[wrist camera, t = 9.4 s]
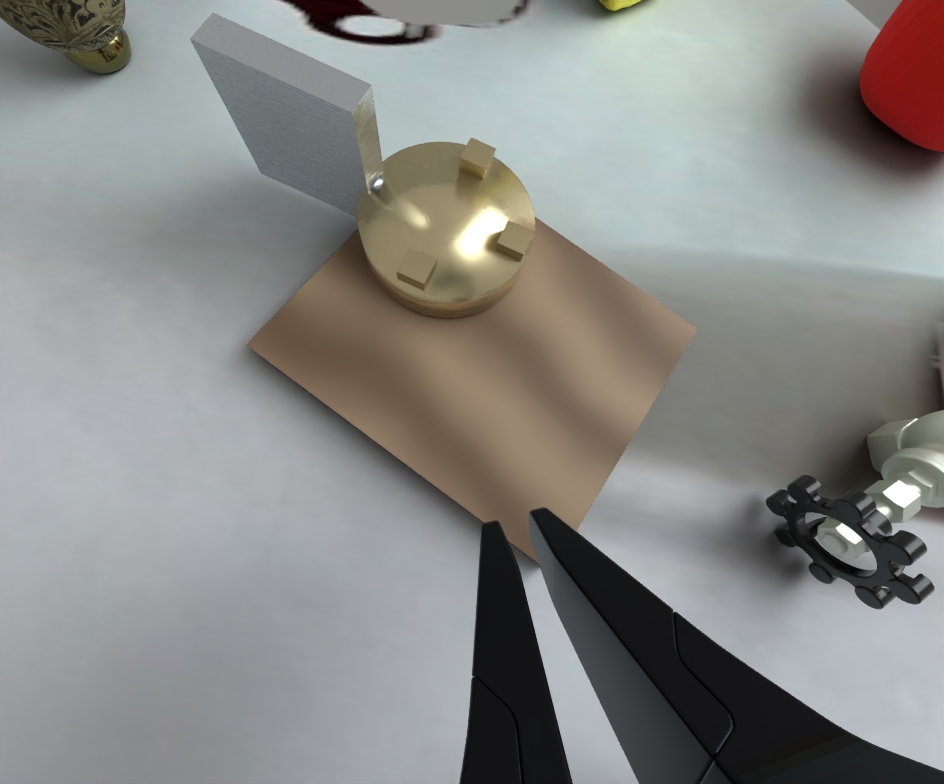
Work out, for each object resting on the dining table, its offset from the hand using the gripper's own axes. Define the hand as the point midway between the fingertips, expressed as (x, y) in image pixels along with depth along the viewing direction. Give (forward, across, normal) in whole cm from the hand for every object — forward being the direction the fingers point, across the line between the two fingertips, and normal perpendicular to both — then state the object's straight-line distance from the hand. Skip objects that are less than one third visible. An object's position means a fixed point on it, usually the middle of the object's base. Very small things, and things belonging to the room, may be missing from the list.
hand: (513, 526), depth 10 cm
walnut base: (+15, -3, +2) cm, 15 cm away
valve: (+6, -22, +12) cm, 26 cm away
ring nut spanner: (+19, +1, -4) cm, 19 cm away
